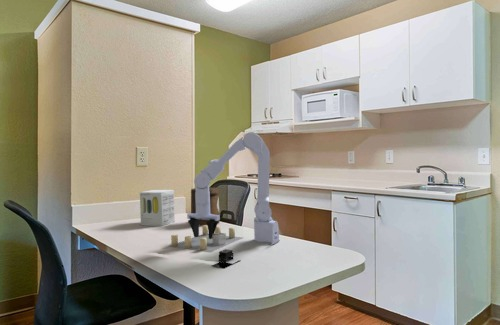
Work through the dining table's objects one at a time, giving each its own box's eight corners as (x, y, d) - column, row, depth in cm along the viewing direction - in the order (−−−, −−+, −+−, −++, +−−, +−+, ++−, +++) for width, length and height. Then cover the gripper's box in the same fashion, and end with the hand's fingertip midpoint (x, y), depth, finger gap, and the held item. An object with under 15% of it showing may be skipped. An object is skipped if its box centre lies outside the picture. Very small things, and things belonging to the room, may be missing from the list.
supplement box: (139, 225, 182) (138, 192, 182) (153, 220, 195) (153, 189, 195) (162, 226, 179) (161, 192, 178) (175, 221, 191) (174, 189, 191)
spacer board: (243, 239, 145) (243, 227, 145) (210, 255, 124) (210, 240, 124) (204, 235, 154) (204, 224, 154) (167, 249, 133) (166, 236, 133)
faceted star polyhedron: (229, 242, 137) (228, 233, 137) (222, 245, 133) (221, 236, 132) (216, 241, 140) (216, 232, 140) (209, 244, 135) (209, 235, 135)
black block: (229, 258, 121) (228, 245, 121) (246, 261, 117) (246, 247, 117) (205, 268, 110) (204, 254, 110) (223, 272, 106) (223, 257, 106)
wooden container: (225, 222, 185) (224, 180, 185) (202, 226, 175) (201, 182, 174) (208, 219, 196) (207, 180, 195) (185, 223, 186) (184, 181, 185)
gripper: (182, 204, 139) (183, 238, 140) (212, 205, 132) (213, 241, 133) (193, 201, 146) (193, 234, 146) (222, 203, 139) (223, 237, 139)
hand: (203, 237), depth 140 cm, fingers open, 7 cm apart
